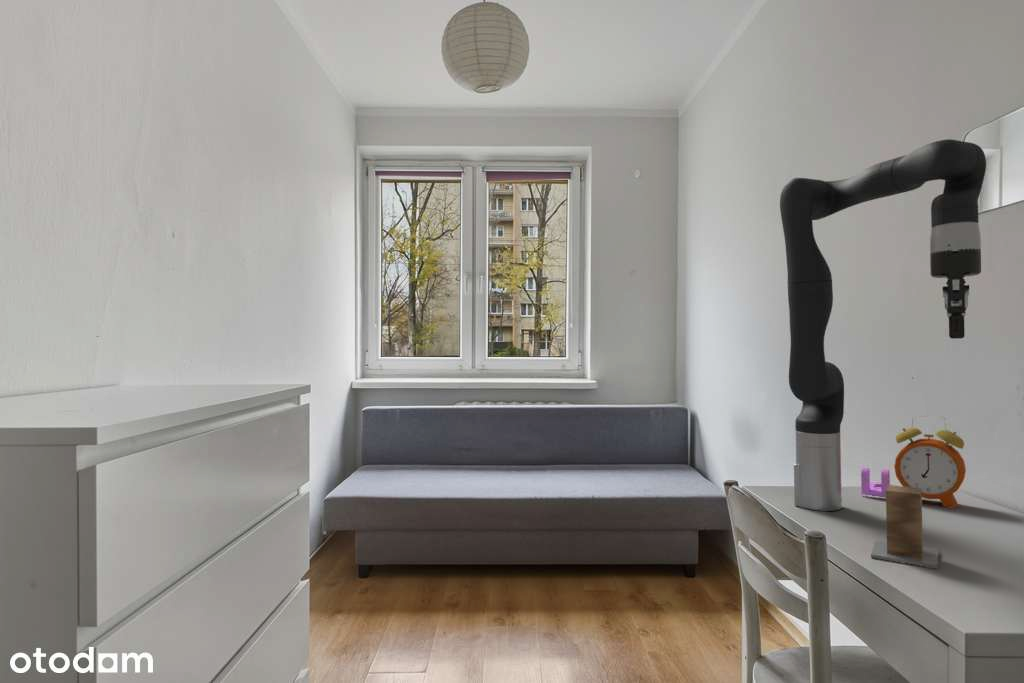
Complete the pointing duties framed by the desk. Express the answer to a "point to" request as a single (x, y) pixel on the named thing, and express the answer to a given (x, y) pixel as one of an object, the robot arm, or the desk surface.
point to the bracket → (874, 483)
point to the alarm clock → (931, 464)
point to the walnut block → (904, 521)
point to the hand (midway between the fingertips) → (956, 338)
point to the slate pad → (927, 556)
